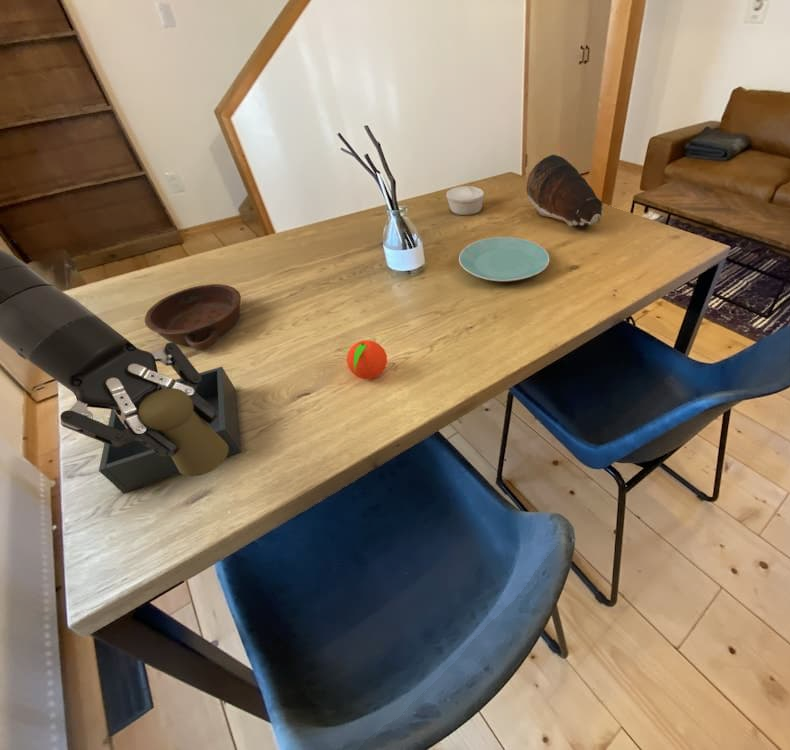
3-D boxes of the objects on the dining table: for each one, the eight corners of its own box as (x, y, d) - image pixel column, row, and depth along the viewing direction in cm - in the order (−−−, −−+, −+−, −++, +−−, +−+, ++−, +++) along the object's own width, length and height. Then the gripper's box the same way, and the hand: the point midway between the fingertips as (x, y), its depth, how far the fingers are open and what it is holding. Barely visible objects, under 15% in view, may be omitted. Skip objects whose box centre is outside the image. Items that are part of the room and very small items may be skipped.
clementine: (380, 393, 76) (371, 362, 71) (343, 389, 77) (331, 358, 72) (395, 363, 82) (388, 333, 77) (361, 359, 83) (351, 329, 78)
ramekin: (491, 209, 135) (491, 191, 131) (466, 220, 129) (465, 202, 125) (466, 200, 140) (465, 183, 137) (440, 210, 134) (438, 193, 131)
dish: (239, 290, 102) (230, 270, 99) (259, 337, 89) (249, 317, 85) (154, 314, 95) (140, 295, 92) (161, 370, 82) (146, 349, 78)
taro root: (584, 199, 108) (531, 153, 121) (565, 252, 120) (519, 205, 132) (627, 195, 115) (572, 152, 128) (605, 245, 127) (557, 201, 139)
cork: (214, 476, 55) (168, 418, 48) (167, 476, 55) (114, 417, 48) (236, 439, 59) (198, 380, 52) (193, 438, 60) (148, 380, 52)
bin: (123, 493, 62) (98, 470, 58) (133, 420, 72) (113, 397, 69) (241, 452, 67) (225, 429, 63) (235, 389, 77) (222, 366, 74)
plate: (539, 243, 117) (540, 233, 115) (557, 286, 101) (558, 275, 99) (457, 249, 115) (456, 239, 114) (462, 294, 99) (461, 283, 97)
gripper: (-17, 364, 41) (145, 476, 46) (126, 288, 51) (248, 387, 56) (-7, 390, 46) (138, 489, 51) (122, 317, 56) (233, 405, 61)
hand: (195, 435), depth 53 cm, fingers closed on cork, 5 cm apart
